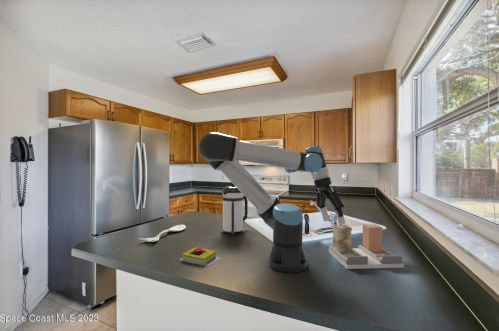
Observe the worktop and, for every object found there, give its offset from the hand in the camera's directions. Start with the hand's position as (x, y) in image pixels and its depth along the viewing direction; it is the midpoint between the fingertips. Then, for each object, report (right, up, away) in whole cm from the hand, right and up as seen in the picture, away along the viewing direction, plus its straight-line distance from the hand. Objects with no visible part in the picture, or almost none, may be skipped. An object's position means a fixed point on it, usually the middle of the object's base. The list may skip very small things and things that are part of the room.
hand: (334, 222), depth 105 cm
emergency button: (-60, -14, -9) cm, 62 cm away
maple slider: (+2, -12, -4) cm, 12 cm away
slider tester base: (+9, -14, -8) cm, 18 cm away
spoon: (-86, -14, +23) cm, 90 cm away
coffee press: (-49, -13, +31) cm, 59 cm away
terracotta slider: (+16, -12, -3) cm, 20 cm away
